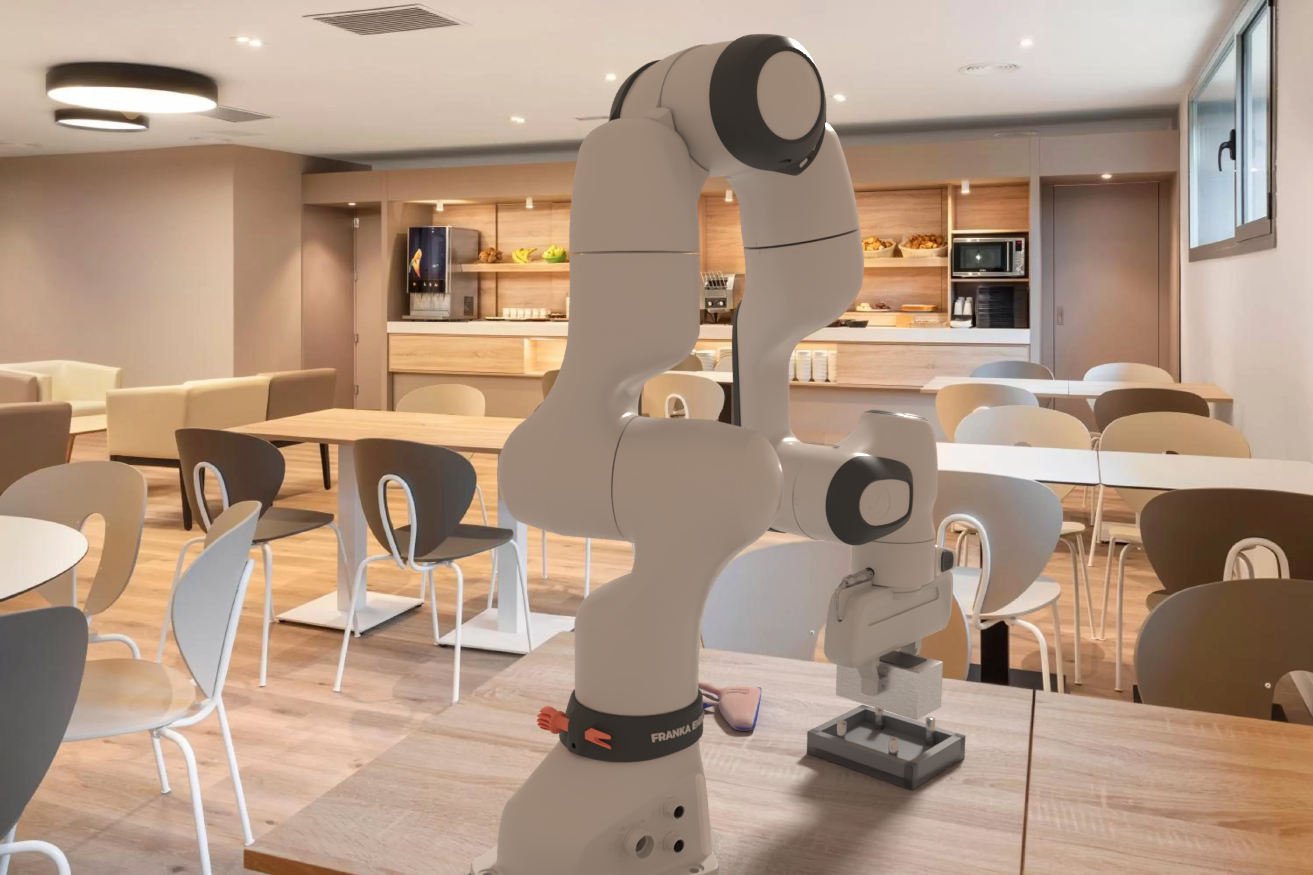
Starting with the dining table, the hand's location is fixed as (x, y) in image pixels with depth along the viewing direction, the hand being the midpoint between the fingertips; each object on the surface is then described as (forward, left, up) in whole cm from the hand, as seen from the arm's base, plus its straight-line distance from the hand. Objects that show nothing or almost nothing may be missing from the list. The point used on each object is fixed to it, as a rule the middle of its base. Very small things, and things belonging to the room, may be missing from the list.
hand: (888, 685), depth 114 cm
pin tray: (0, 0, -8) cm, 8 cm away
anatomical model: (-5, +27, -9) cm, 28 cm away
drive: (0, 0, -2) cm, 2 cm away
